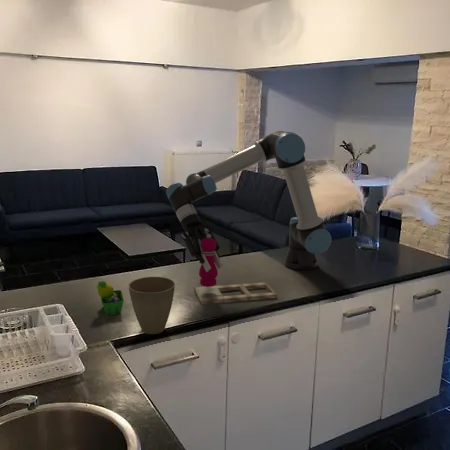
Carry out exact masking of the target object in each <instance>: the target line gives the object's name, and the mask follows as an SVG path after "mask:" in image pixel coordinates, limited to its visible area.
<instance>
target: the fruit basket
mask: <svg viewBox="0 0 450 450" xmlns="http://www.w3.org/2000/svg"><path fill="white" fill-rule="evenodd" d="M97 283H98V284H97V285H96V288H97V293H98V296H99V297H100V301H101V305H102V306H103V307H102V308H103V309H104V313H105V315H107V316H108V315H117V314H118V315H119V314H121V313H122V309H123V305H124V303H125V300H124V296H123V292H122V290H120V289H117V290H114V287H113V285H111V284H110V283H108V282H106V281H104V280H100V281H98V282H97Z"/></svg>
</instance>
